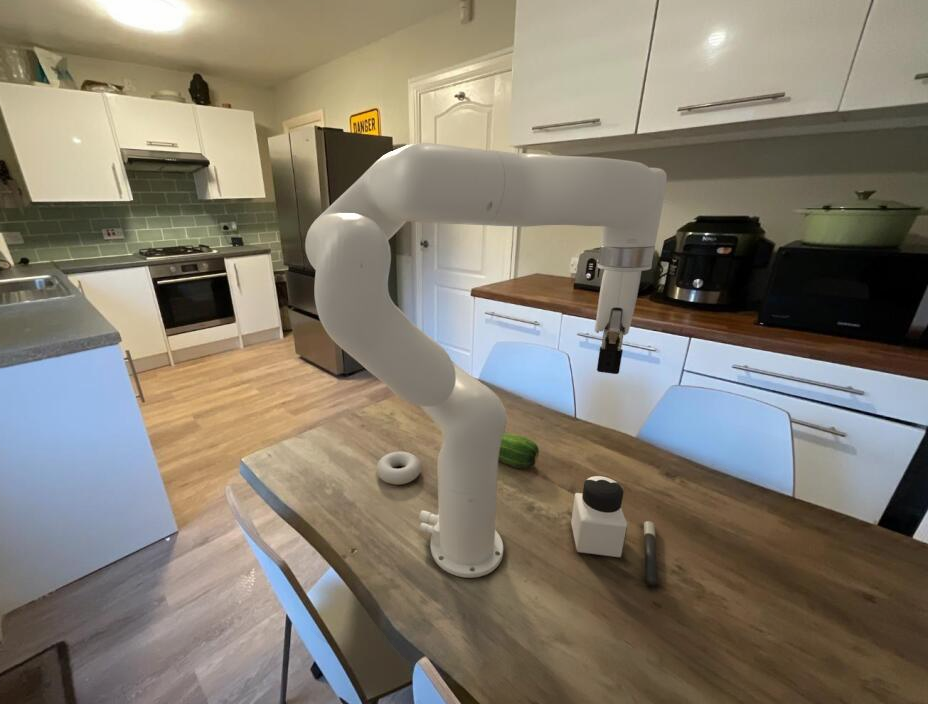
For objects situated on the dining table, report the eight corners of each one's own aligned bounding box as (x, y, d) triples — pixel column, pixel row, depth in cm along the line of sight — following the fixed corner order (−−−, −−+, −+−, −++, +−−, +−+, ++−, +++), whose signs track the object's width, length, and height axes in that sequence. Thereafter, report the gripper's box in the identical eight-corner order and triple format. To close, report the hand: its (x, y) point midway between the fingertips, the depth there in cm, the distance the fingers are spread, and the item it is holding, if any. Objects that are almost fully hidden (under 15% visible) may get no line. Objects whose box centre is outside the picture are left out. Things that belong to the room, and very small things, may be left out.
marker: (652, 590, 63) (661, 586, 62) (643, 582, 63) (651, 578, 62) (649, 530, 74) (656, 525, 73) (641, 523, 74) (648, 519, 73)
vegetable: (534, 442, 86) (457, 415, 98) (526, 475, 86) (449, 444, 98) (546, 442, 92) (472, 417, 104) (538, 473, 92) (465, 444, 104)
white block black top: (621, 558, 68) (633, 501, 63) (576, 552, 69) (584, 496, 65) (611, 527, 74) (621, 473, 70) (570, 522, 76) (577, 469, 71)
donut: (388, 457, 98) (369, 482, 89) (388, 445, 96) (367, 468, 88) (427, 465, 94) (411, 492, 85) (427, 453, 93) (410, 478, 84)
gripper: (601, 251, 71) (589, 344, 77) (594, 265, 57) (579, 377, 63) (650, 251, 68) (633, 348, 74) (655, 267, 53) (634, 385, 60)
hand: (609, 361), depth 69 cm, fingers open, 9 cm apart
